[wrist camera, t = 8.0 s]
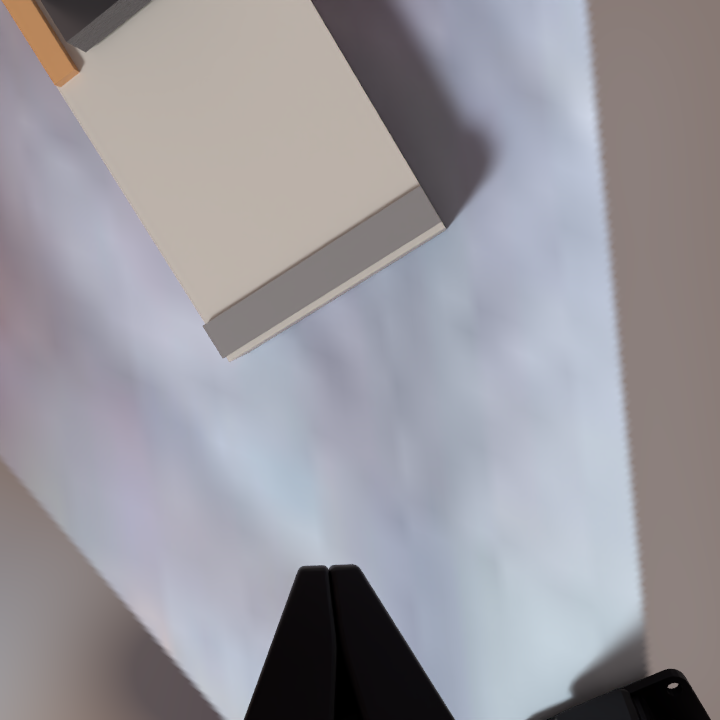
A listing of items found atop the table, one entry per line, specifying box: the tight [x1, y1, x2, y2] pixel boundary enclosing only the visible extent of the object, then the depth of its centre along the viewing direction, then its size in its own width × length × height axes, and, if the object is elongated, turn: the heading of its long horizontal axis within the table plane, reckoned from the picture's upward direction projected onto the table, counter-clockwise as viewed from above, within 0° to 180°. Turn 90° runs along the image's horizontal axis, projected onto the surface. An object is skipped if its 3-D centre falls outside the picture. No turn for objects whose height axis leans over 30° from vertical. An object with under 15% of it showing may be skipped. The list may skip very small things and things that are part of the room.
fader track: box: [2, 0, 446, 362], centre depth 20 cm, size 18×8×2 cm, turn 32°
